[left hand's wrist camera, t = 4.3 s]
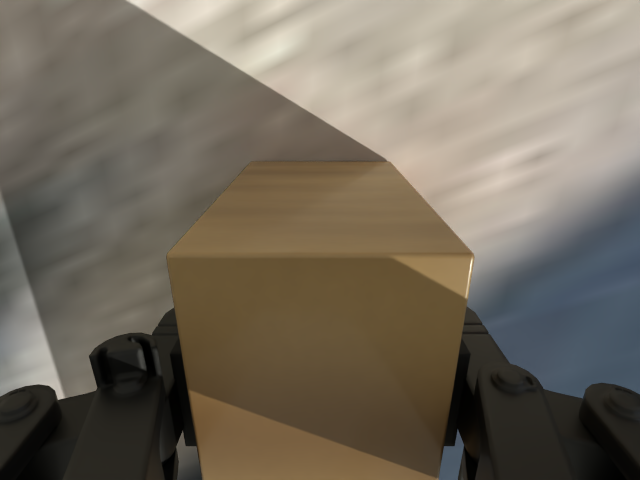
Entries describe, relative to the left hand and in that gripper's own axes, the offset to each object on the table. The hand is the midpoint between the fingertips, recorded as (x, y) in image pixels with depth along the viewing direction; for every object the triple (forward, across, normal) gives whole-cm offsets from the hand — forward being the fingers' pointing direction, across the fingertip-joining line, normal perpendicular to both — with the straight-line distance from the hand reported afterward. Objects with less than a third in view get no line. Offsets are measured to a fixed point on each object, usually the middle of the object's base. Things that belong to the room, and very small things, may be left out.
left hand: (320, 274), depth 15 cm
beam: (+1, 0, -26) cm, 26 cm away
